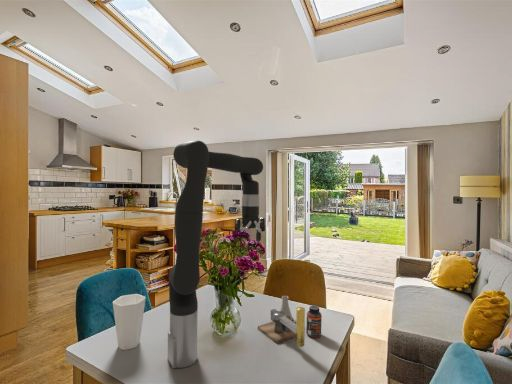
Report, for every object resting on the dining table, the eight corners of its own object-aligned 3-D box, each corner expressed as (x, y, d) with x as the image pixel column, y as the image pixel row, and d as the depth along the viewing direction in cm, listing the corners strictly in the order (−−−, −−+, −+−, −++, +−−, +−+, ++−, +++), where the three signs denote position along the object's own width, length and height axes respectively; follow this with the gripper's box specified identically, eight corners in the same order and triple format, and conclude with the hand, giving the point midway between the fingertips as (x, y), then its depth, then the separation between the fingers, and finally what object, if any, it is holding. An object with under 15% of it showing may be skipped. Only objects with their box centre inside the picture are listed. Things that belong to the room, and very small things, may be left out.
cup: (150, 343, 104) (150, 298, 104) (124, 356, 96) (124, 308, 96) (133, 334, 110) (133, 292, 110) (107, 345, 102) (108, 300, 102)
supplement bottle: (310, 339, 108) (311, 311, 108) (303, 332, 114) (304, 305, 114) (324, 337, 110) (324, 309, 110) (316, 330, 115) (317, 303, 115)
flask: (292, 315, 129) (292, 294, 128) (293, 323, 121) (293, 300, 121) (277, 314, 129) (277, 293, 129) (276, 322, 122) (277, 299, 122)
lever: (267, 323, 114) (268, 292, 114) (277, 320, 117) (277, 290, 117) (297, 348, 97) (298, 311, 97) (308, 344, 99) (308, 309, 99)
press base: (257, 329, 116) (257, 312, 116) (276, 322, 121) (277, 306, 121) (276, 343, 105) (277, 325, 105) (297, 335, 111) (297, 318, 111)
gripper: (240, 205, 111) (240, 245, 111) (268, 205, 119) (268, 242, 119) (231, 204, 117) (231, 242, 118) (259, 204, 125) (258, 239, 126)
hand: (250, 242), depth 119 cm, fingers open, 8 cm apart
